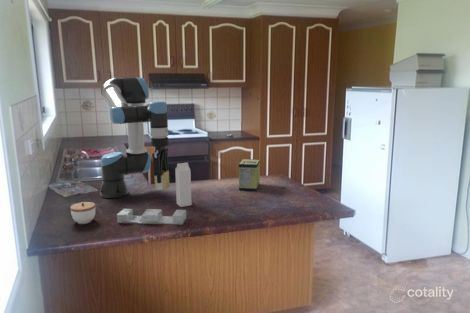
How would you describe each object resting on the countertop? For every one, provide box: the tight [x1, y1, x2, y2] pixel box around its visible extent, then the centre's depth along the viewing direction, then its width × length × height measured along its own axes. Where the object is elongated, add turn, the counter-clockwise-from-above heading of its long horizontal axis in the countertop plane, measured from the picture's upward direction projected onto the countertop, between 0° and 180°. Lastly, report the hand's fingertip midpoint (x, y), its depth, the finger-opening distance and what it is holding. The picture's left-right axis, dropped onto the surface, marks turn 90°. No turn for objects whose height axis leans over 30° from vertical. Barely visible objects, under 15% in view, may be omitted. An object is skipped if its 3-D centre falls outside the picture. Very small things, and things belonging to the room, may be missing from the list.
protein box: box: [238, 158, 261, 192], centre depth 226 cm, size 10×16×16 cm
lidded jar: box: [69, 201, 97, 225], centre depth 174 cm, size 11×11×9 cm
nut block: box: [154, 169, 171, 191], centre depth 172 cm, size 5×5×8 cm
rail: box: [116, 208, 187, 225], centre depth 175 cm, size 30×8×4 cm, turn 86°
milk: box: [174, 162, 193, 208], centre depth 195 cm, size 6×6×22 cm
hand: (162, 187), depth 172 cm, fingers closed on nut block, 5 cm apart
